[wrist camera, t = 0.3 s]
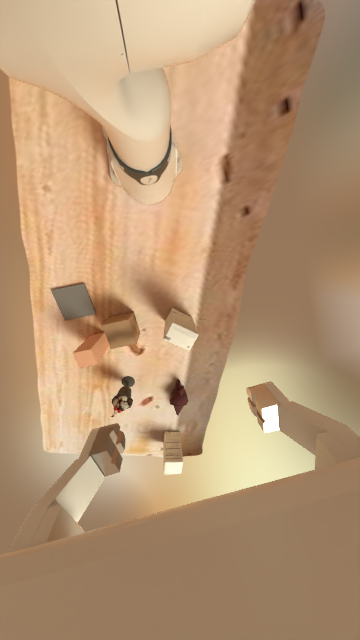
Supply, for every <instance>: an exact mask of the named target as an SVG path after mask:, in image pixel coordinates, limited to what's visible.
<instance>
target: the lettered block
mask: <svg viewBox="0 0 360 640" xmlns="http://www.w3.org/2000/svg"><path fill="white" fill-rule="evenodd" d="M102 327H103V330H104V332H105V335H106V337H107V340H108V343H109V345H110V348H111V349H113V348H118V347H122V346H127V345H131V344H136V343H137V341H138V338H139V335H140V331H139V328H138V324H137V321H136V318H135V314H134V312H129V313H125V314H120V315H115V316H111V317H109V318H108V319H107V320H106V321H105V322H104V323H103V324H102Z"/></svg>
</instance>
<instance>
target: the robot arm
mask: <svg viewBox="0 0 360 640" xmlns="http://www.w3.org/2000/svg"><path fill="white" fill-rule="evenodd" d="M255 1H256V0H0V70H2V71H3V72H4V73H5V74H7V75H8V76H9V77H10V78H12V79H14V80H16V81H20V82H23V83H26V84H30V85H33V86H36V87H39V88H42V89H44V90H47V91H49V92H51V93H54V94H56V95H58V96H60V97H62V98H64V99H66V100H67V101H69V102H71V103H72V104H74V105H76V106H77V107H79V108H80V109H82V110H83V111H84V112H86V113H87V114H89V115H90V116H91V117H93V118H94V119H95V120H96V121H97V122H99V123H100V124H101V125H102V131H103V135H104V137H105V138H106V140H107V146H106V147H107V152H108V158H109V168H110V176H111V180H112V181H113V183H114V184H116V185H118V186H120V187H122V188H123V189H124V190H125V191H126V192H127V193H128V194H129V195H130V196H131V197H132V198H134V199H135V200H137V201H138V202H141V203H144V204H154V203H157V202H159V201H161V200H163V199H164V198H165V197H166V196H167V195H168V193H169V192H170V190H171V188H172V185H173V182H174V180H175V178H176V176H177V175H178V174H179V173H180V171H181V170H182V161H181V158H180V155H179V152H178V148H177V145H176V142H175V139H174V136H173V133H172V129H171V126H170V118H171V96H170V90H169V85H168V81H167V78H166V75H165V73H164V70H163V68H164V67H169V66H175V65H180V64H186V63H191V62H193V61H195V60H197V59H199V58H201V57H203V56H205V55H207V54H209V53H211V52H213V51H214V50H216V49H218V48H219V47H221V46H223V45H224V44H226V43H227V42H229V41H231V40H232V39H234V38H235V37H236V36H237V35H238V34H239V33H240V31H241V29H242V28H243V26H244V24H245V22H246V20H247V18H248V16H249V14H250V12H251V10H252V7H253V5H254V3H255ZM114 172H115V173H114ZM247 394H248V396H249V397H248V402H249V406H250V409H251V411H252V412H253V414H254V415H255V416H256V417H257V418H258V423H259V425H260V426H261V428H262V429H263V431H264V432H265V433H266V432H270V431H274V430H279V429H280V431H281V432H283V433H284V434H286V435H287V436H289V437H290V438H291V439H293V440H294V441H296V442H297V443H298V444H300V445H301V446H303V447H304V448H306V449H307V450H308V451H310V452H311V453H313V454H314V455H315V456H316V458H315V470H312V471H309V472H305V473H301V474H298V475H294V476H290V477H287V478H283V479H279V480H275V481H272V482H268V483H264V484H261V485H257V486H253V487H250V488H246V489H242V490H239V491H235V492H231V493H227V494H224V495H220V496H216V497H213V498H209V499H205V500H202V501H198V502H194V503H191V504H187V505H183V506H180V507H176V508H172V509H169V510H165V511H161V512H157V513H154V514H150V515H147V516H143V517H139V518H135V519H132V520H128V521H125V522H121V523H117V524H114V525H110V526H106V527H102V528H99V529H95V530H91V531H88V532H84V530H83V529H82V528H81V527H80V525H79V524H78V521H79V519H80V518H81V516H82V514H83V513H84V511H85V510H86V508H87V506H88V505H89V503H90V501H91V500H92V498H93V496H94V495H95V493H96V491H97V489H98V488H99V486H100V485H101V483H102V482H103V480H104V478H105V476H108V475H111V474H115V473H118V472H120V468H121V464H122V459H123V458H122V456H121V454H122V453H123V451H124V449H125V435H124V433H123V432H122V431H120V426H119V424H118V423H116V424H112V425H108V426H104V427H100V428H96V429H93V430H92V431H91V432H90V434H89V436H88V439H87V441H86V443H85V445H84V448H83V450H82V452H81V455H80V457H79V459H77V460H75V461H74V463H73V464H72V465H71V466H70V467H69V468H68V469H67V470H66V472H65V473H64V474H63V475H62V476H61V477H60V478H59V479H58V480H57V482H55V484H54V485H53V486H52V487H51V488H50V489H49V490H48V491H47V492H46V494H45V495H44V496H43V497H42V498H41V499H40V500H39V501H38V502H37V503H36V505H35V506H34V507H33V508H32V509H31V510H30V511H29V513H28V515H27V517H26V519H25V521H24V522H23V524H22V526H21V528H20V530H19V532H18V534H17V535H16V537H15V539H14V541H13V543H12V545H11V546H10V548H9V550H8V552H7V553H6V554H3V555H0V640H360V437H359V436H358V435H357V434H356V433H355V432H354V431H353V430H351V429H350V428H349V427H348V426H347V425H345V424H342V423H340V422H338V421H336V420H333V419H331V418H329V417H327V416H324V415H322V414H320V413H318V412H316V411H313V410H311V409H309V408H307V407H304V406H302V405H300V404H298V403H295V402H293V401H292V402H290V401H289V400H288V399H287V398H286V397H285V396H284V395H283V393H282V392H281V391H280V390H279V389H278V388H277V387H276V386H275V385H274V384H273V383H272V382H267V383H263V384H259V385H256V386H252V387H249V388H247Z"/></svg>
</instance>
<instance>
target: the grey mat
mask: <svg viewBox="0 0 360 640" xmlns="http://www.w3.org/2000/svg"><path fill="white" fill-rule="evenodd" d="M51 291H52V293H53V295H54V297H55V300H56V302H57V304H58V306H59V308H60V310H61V313H62V315H63V317H64V319H65V320H70V319H74V318H79V317H84V316H89V315H93V314H96V312H95V309H94V307H93V304H92V301H91V299H90V296H89V294H88V291H87V289H86V286H85V283H84V284H79V285H74V286H69V287H64V288H60V289H55V290H51Z"/></svg>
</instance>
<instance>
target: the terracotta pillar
mask: <svg viewBox="0 0 360 640" xmlns="http://www.w3.org/2000/svg"><path fill="white" fill-rule="evenodd" d="M108 347H109V343H108V340H107V337H106V335H105V332H103V333H98V334H94V335H90V336H89V337H88V338H87V339H86V340H85V341H84V342H83V343H82V344H81V345H80V346H79V347H78V348H77V349H76V350H75V351H74V352H73V355H74V357H75V359H76V361H77V363H78V365H79V367H80V368H82V367H87V366H92V365H96V364H98V362H99V361H100V359H101V358H102V356H103V354H104V353H105V351H106V350H107V348H108Z"/></svg>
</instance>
